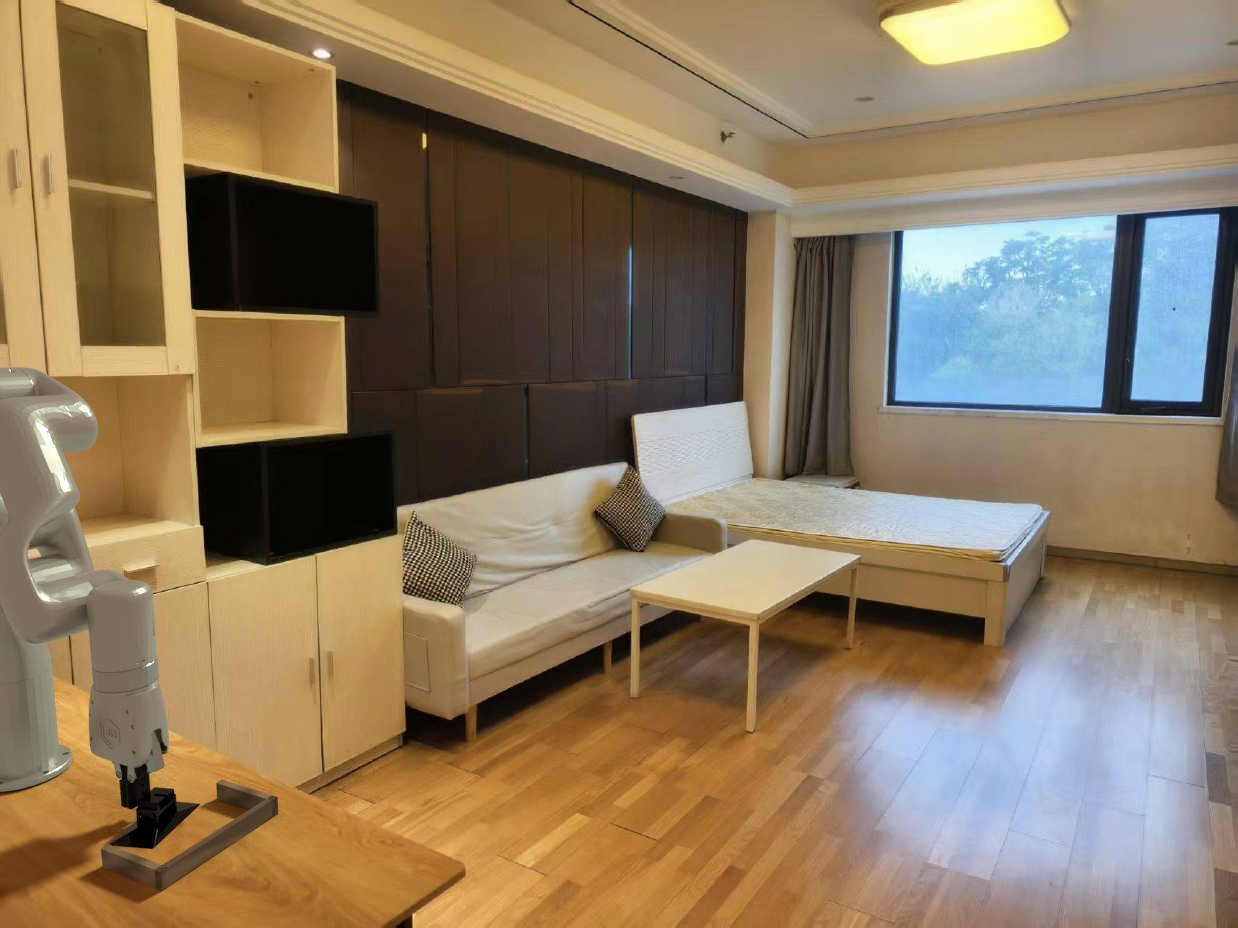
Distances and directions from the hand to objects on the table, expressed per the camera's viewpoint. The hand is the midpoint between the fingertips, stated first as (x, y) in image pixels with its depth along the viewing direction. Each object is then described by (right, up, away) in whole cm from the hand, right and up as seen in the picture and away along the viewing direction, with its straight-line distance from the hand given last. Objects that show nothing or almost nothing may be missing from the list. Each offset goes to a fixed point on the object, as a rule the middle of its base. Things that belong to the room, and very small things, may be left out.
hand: (136, 802), depth 114 cm
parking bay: (+10, -3, -4) cm, 11 cm away
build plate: (+3, -3, 0) cm, 4 cm away
